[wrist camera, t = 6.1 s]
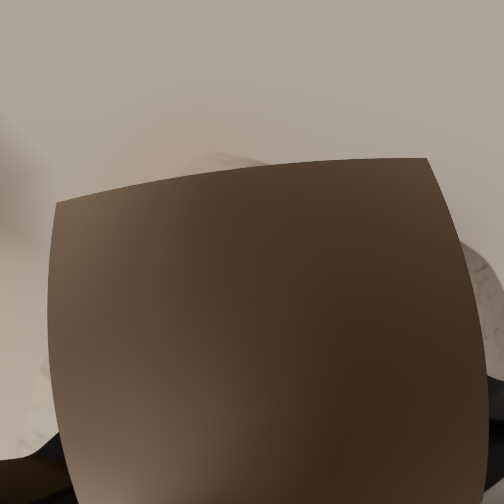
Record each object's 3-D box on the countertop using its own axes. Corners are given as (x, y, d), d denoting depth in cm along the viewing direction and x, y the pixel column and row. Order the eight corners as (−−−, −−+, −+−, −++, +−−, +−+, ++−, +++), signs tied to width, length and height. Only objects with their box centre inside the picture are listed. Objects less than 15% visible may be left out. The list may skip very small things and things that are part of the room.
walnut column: (306, 396, 14) (481, 501, 2) (219, 408, 14) (108, 569, 1) (293, 312, 15) (426, 158, 3) (207, 324, 15) (56, 203, 3)
